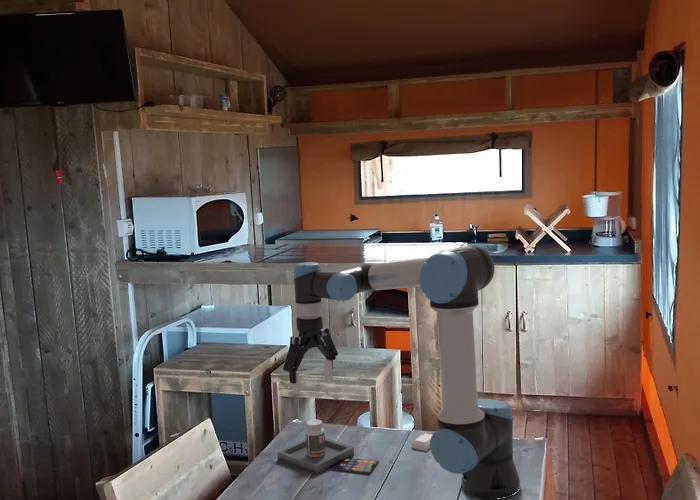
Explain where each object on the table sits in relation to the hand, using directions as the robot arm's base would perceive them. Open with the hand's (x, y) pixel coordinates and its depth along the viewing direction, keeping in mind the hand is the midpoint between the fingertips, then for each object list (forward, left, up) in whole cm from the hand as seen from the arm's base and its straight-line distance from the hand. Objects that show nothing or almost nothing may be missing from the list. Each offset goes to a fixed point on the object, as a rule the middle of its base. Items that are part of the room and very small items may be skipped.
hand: (312, 387), depth 203 cm
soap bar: (-20, -27, -22) cm, 41 cm away
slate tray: (0, 0, -22) cm, 22 cm away
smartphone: (-12, -2, -22) cm, 25 cm away
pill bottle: (0, 0, -21) cm, 21 cm away
